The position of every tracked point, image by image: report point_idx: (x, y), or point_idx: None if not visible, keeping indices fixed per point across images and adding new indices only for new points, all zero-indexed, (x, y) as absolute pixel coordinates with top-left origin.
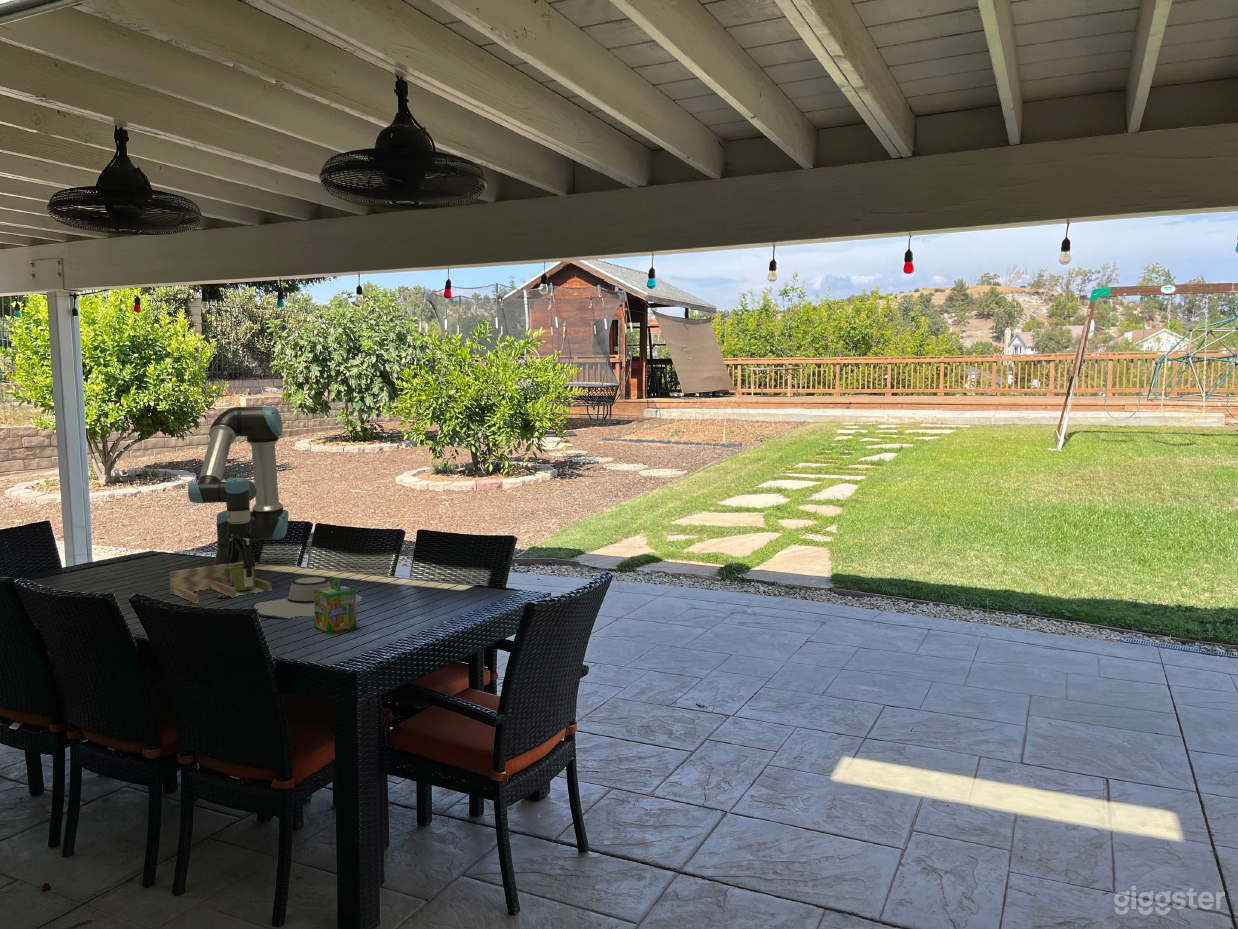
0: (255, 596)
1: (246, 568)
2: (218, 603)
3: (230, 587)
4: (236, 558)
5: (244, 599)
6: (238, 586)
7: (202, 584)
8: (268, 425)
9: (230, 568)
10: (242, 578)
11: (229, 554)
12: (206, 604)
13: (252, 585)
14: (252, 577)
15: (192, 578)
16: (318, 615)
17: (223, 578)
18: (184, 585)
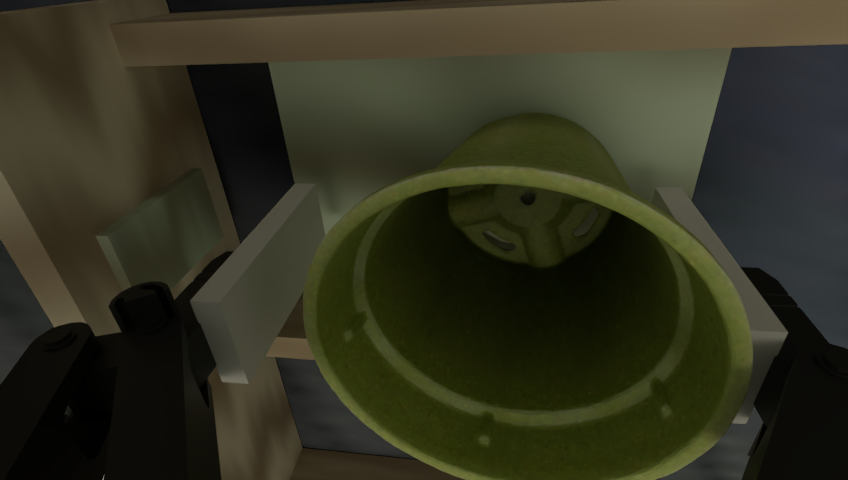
0: (830, 204)
1: (761, 401)
2: (748, 435)
3: None
4: (190, 376)
5: (832, 304)
6: (572, 282)
7: (253, 378)
8: None
9: (520, 469)
10: (624, 311)
11: (88, 477)
12: (698, 472)
13: (679, 192)
14: (717, 237)
15: (245, 470)
16: None
17: (197, 267)
18: (276, 465)
